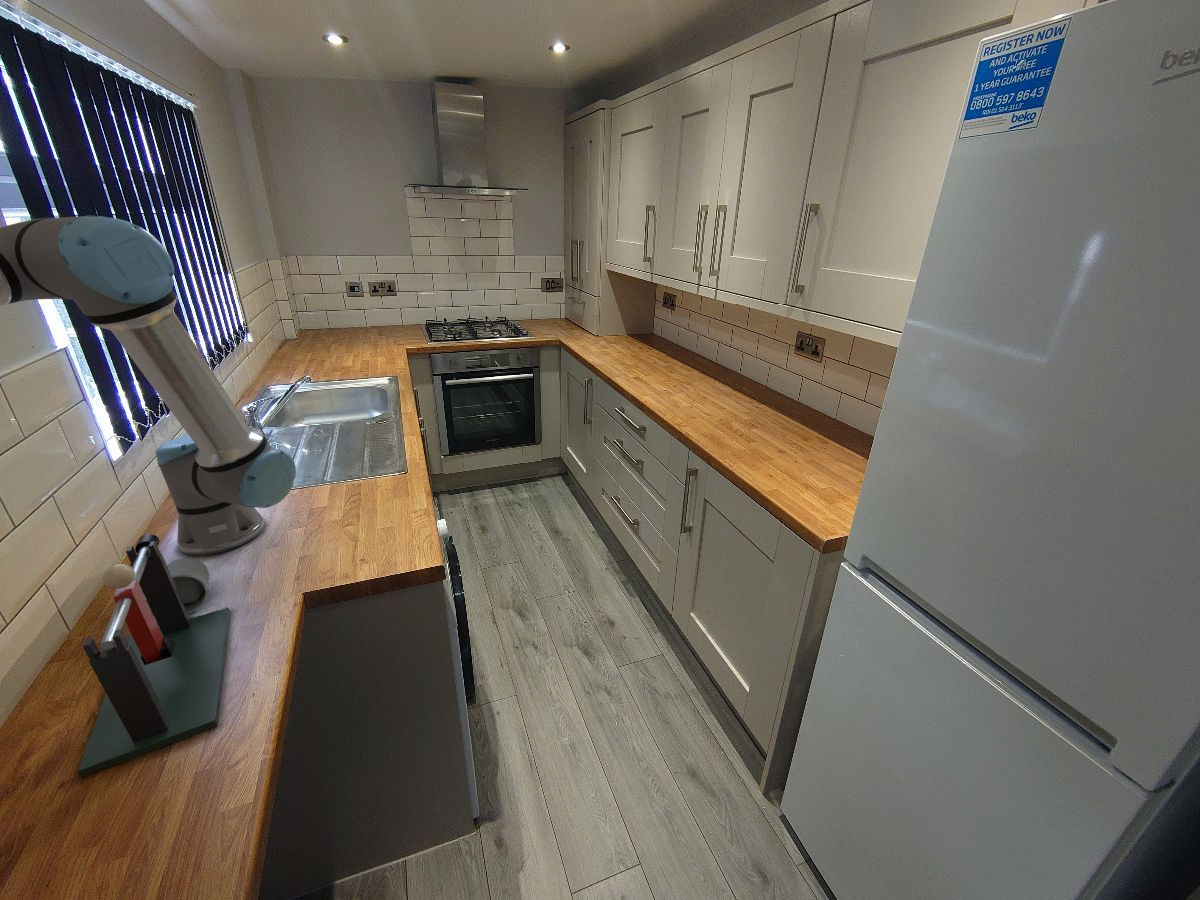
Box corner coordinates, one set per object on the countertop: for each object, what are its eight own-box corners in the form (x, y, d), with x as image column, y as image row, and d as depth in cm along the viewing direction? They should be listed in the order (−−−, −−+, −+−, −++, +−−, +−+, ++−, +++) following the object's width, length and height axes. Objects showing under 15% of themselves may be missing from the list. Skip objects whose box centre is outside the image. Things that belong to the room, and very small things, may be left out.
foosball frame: (128, 642, 85) (84, 553, 78) (230, 612, 91) (197, 527, 84) (81, 777, 64) (14, 672, 57) (217, 726, 70) (172, 626, 63)
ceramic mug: (215, 581, 99) (201, 547, 96) (214, 605, 93) (199, 570, 90) (144, 603, 94) (127, 568, 91) (138, 630, 88) (119, 593, 84)
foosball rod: (161, 599, 87) (125, 519, 81) (187, 592, 89) (154, 512, 82) (125, 717, 66) (73, 621, 60) (160, 705, 68) (113, 610, 62)
